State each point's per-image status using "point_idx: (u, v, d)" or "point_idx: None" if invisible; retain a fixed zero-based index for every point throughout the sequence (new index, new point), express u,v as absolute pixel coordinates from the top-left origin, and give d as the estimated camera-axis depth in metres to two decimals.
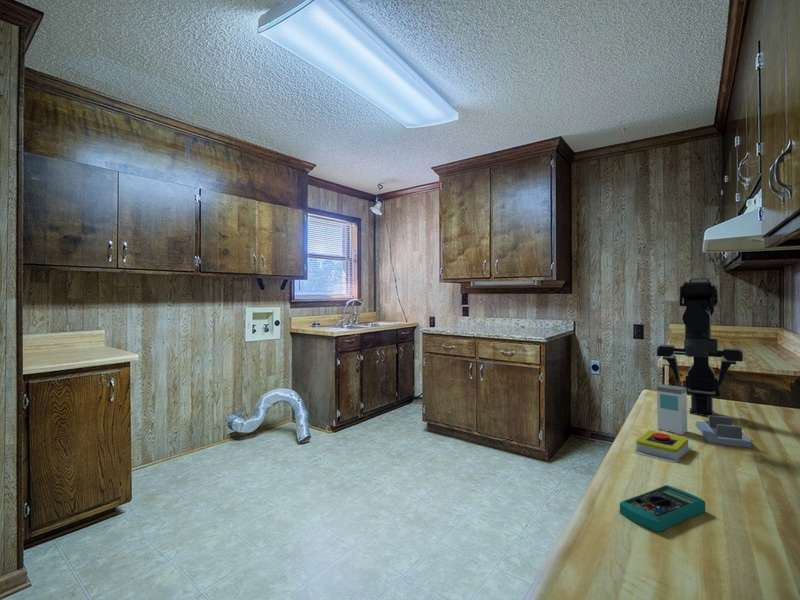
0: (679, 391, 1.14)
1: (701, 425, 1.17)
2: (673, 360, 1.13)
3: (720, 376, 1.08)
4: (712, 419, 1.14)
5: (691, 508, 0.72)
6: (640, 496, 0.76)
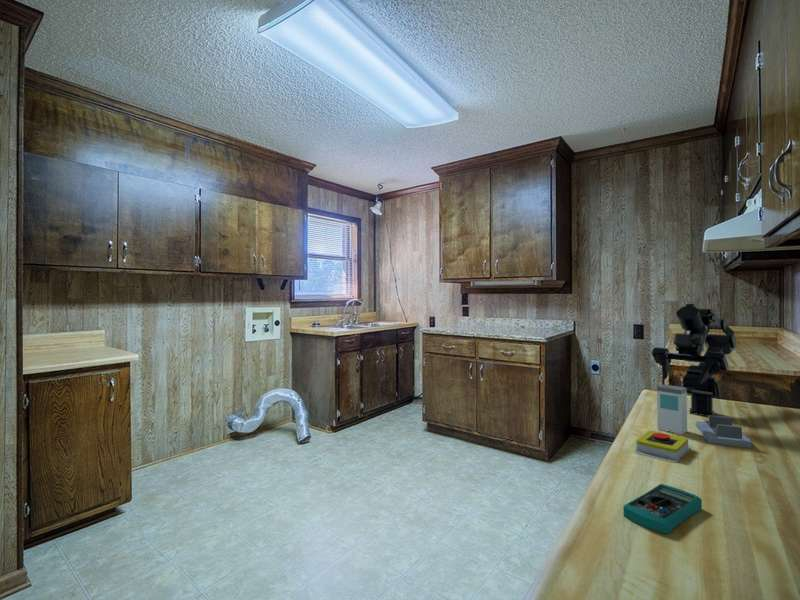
0: (679, 391, 1.14)
1: (701, 425, 1.17)
2: (664, 356, 1.28)
3: (702, 373, 1.19)
4: (712, 419, 1.14)
5: (691, 507, 0.73)
6: (641, 497, 0.75)
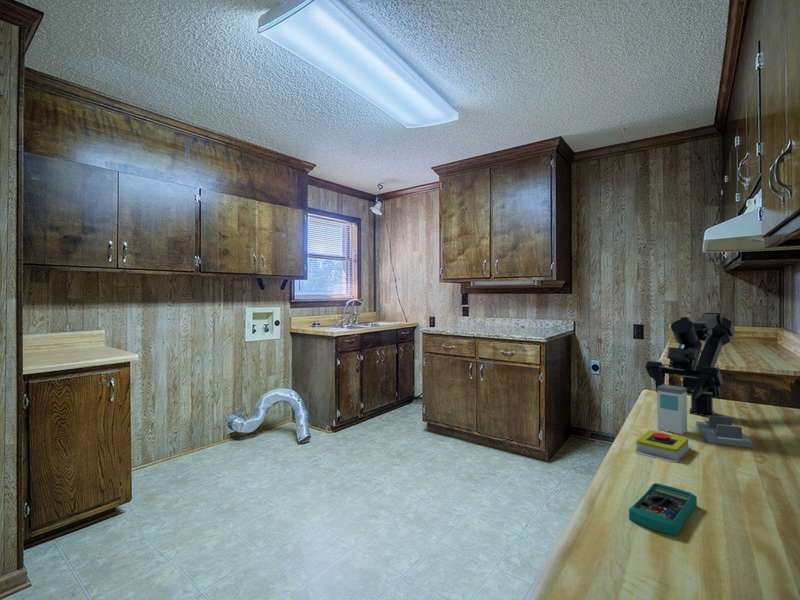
0: (679, 391, 1.14)
1: (701, 425, 1.17)
2: (657, 370, 1.25)
3: (695, 388, 1.16)
4: (712, 419, 1.14)
5: (690, 505, 0.73)
6: (642, 498, 0.75)
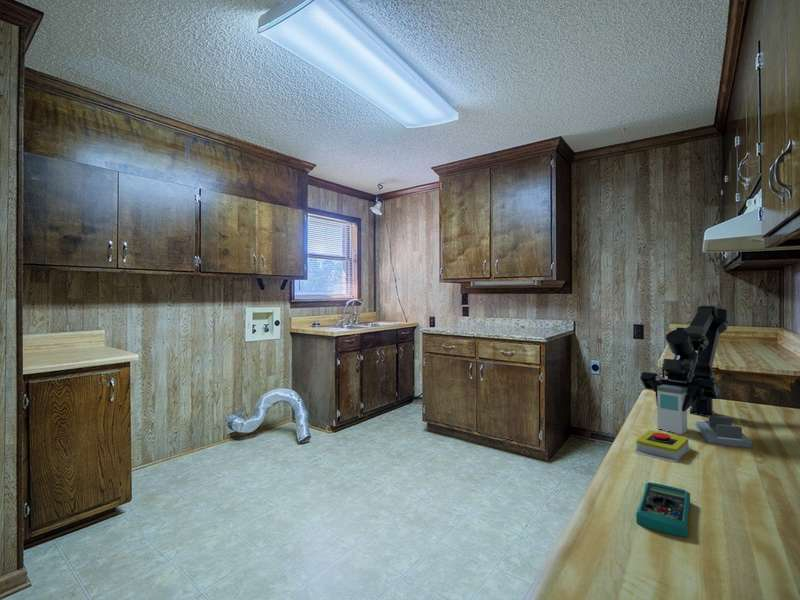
0: (679, 391, 1.14)
1: (701, 425, 1.17)
2: (658, 382, 1.22)
3: (685, 400, 1.15)
4: (712, 419, 1.14)
5: (688, 503, 0.74)
6: (644, 500, 0.74)
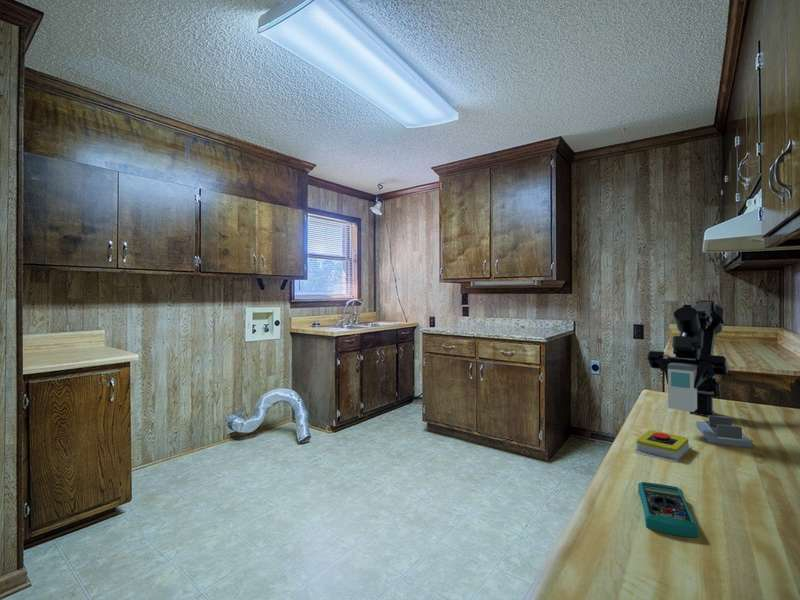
0: (691, 368, 1.12)
1: (701, 425, 1.17)
2: (667, 361, 1.19)
3: (696, 377, 1.13)
4: (712, 419, 1.14)
5: None
6: (647, 502, 0.74)
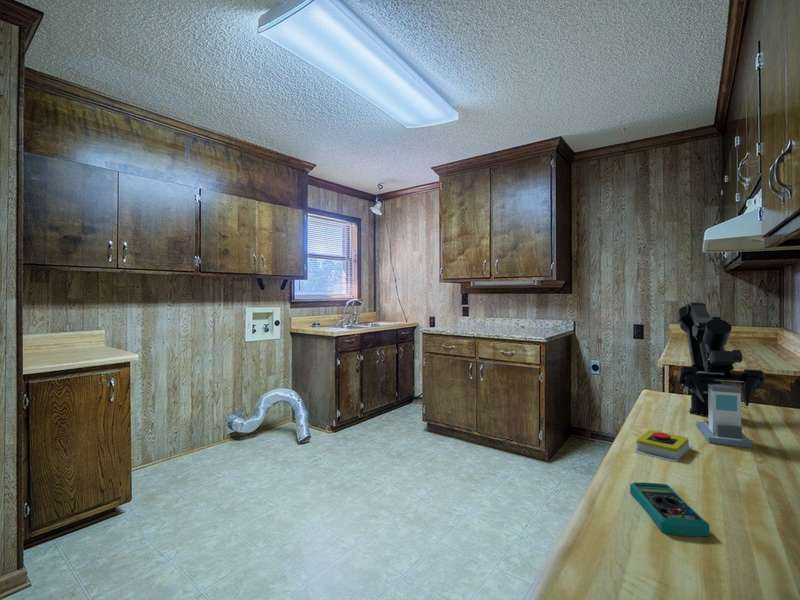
0: (738, 390, 1.07)
1: (701, 425, 1.17)
2: (698, 376, 1.14)
3: (746, 394, 1.08)
4: None
5: None
6: (652, 504, 0.73)
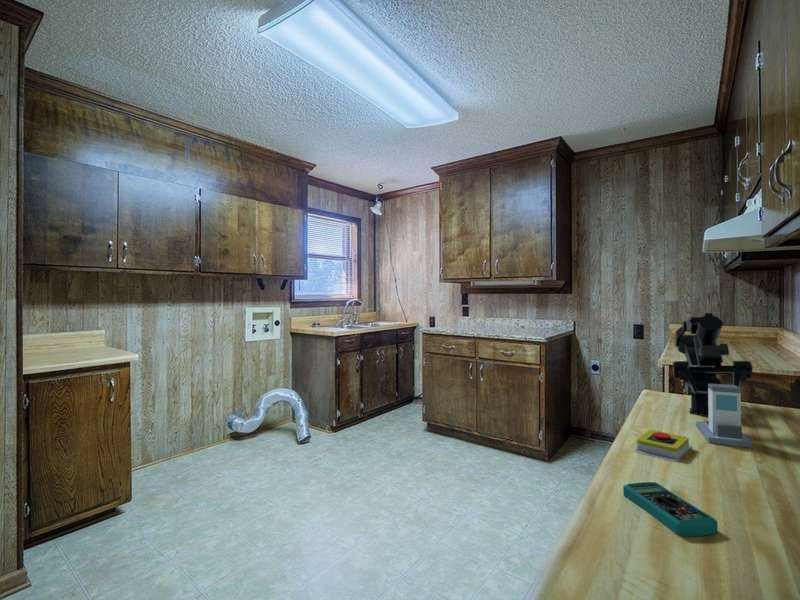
0: (738, 390, 1.07)
1: (701, 425, 1.17)
2: (689, 370, 1.22)
3: (735, 384, 1.16)
4: None
5: None
6: (658, 506, 0.72)
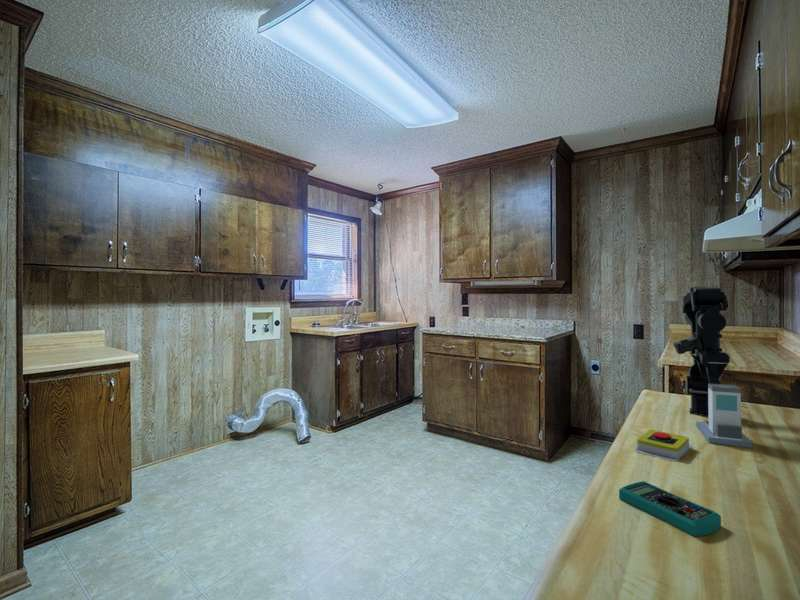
0: (738, 390, 1.07)
1: (701, 425, 1.17)
2: (693, 358, 1.27)
3: (707, 375, 1.17)
4: None
5: None
6: (665, 508, 0.71)
